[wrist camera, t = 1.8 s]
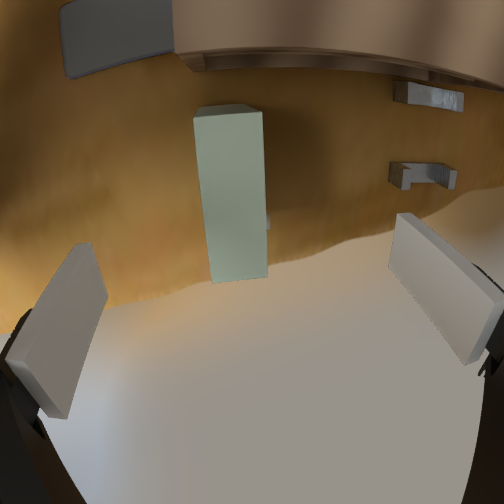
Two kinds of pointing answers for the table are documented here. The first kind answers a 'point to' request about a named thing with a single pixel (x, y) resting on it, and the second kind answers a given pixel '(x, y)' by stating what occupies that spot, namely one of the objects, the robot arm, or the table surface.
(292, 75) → the table surface
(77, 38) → the smartphone
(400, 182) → the hinge clips
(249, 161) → the pale green square block
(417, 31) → the cabinet
